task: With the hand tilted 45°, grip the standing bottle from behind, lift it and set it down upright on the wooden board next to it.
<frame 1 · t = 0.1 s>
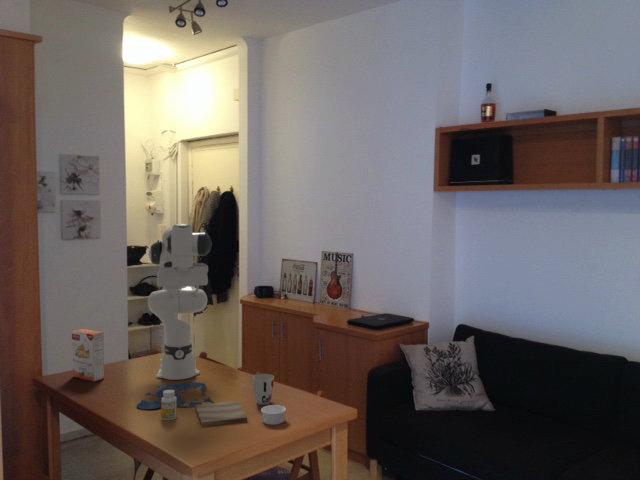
hand: (182, 297, 237), 39 cm above the table, tool pointing down, fingers open, 8 cm apart
blue cloth: (174, 397, 233), on the table
cracker box: (88, 378, 257), on the table
wooden board: (220, 415, 212), on the table
ramekin: (273, 421, 208), on the table
cup: (263, 402, 227), on the table
supplement bottle: (169, 418, 209), on the table
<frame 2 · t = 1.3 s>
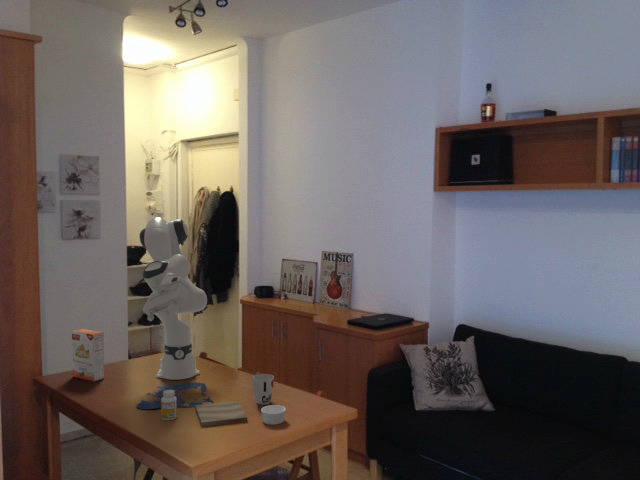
hand: (158, 316, 216), 35 cm above the table, tool tilted 50°, fingers open, 8 cm apart
nothing on the table moved.
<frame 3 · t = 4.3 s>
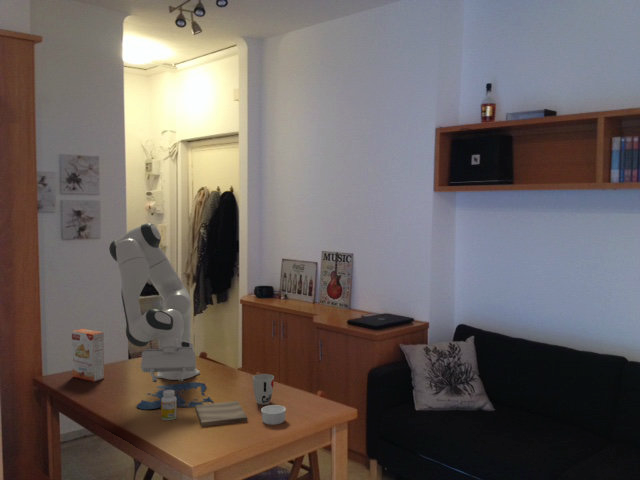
hand: (167, 380, 215), 11 cm above the table, tool tilted 45°, fingers open, 8 cm apart
nothing on the table moved.
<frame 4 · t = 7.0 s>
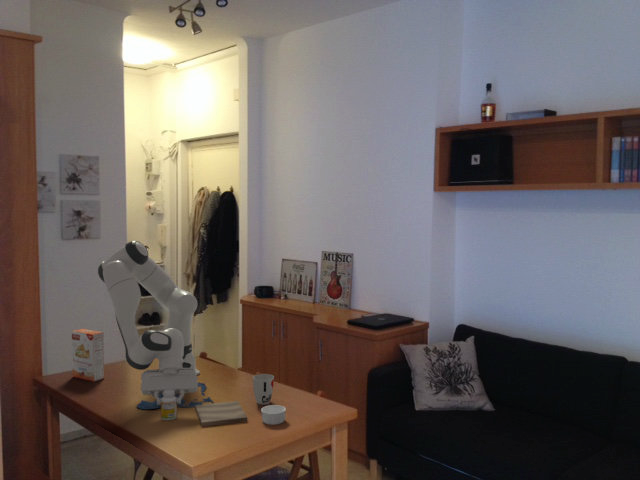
hand: (168, 403, 209), 5 cm above the table, tool tilted 45°, fingers closed on supplement bottle, 5 cm apart
supplement bottle: (169, 418, 209), on the table, touching gripper
everything else where it was.
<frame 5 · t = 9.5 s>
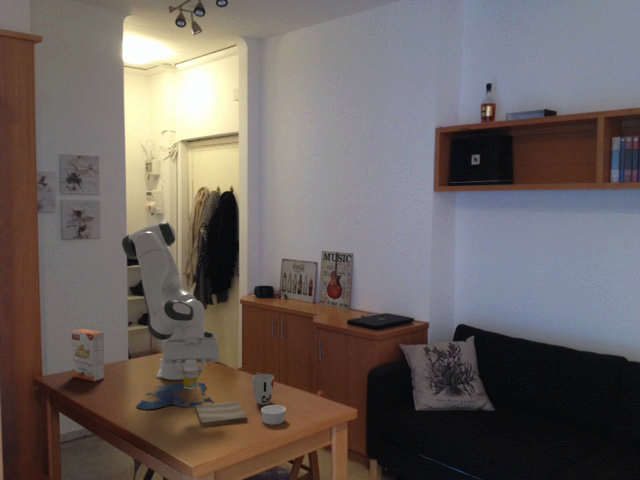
hand: (191, 372, 210), 16 cm above the table, tool tilted 45°, fingers closed on supplement bottle, 5 cm apart
supplement bottle: (191, 387, 211), point 10 cm above the table, touching gripper
everything else where it was.
when the fingers open (8 cm above the table, at t = 12.1 s): supplement bottle stays where it is, resting on wooden board.
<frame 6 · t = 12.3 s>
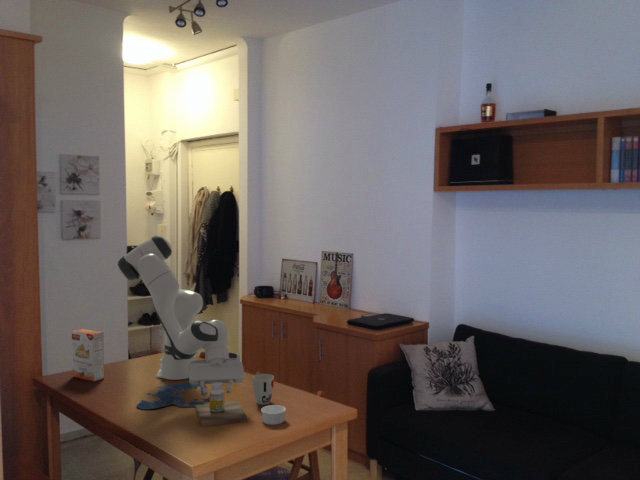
hand: (217, 393, 213), 8 cm above the table, tool tilted 45°, fingers open, 7 cm apart
supplement bottle: (217, 410, 214), point 1 cm above the table, touching wooden board
everything else where it was.
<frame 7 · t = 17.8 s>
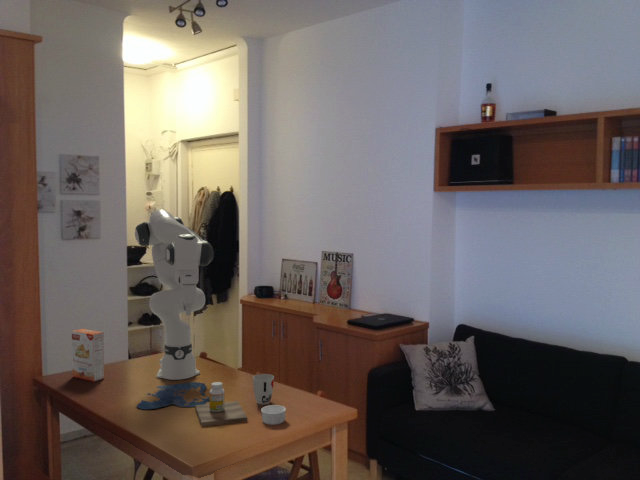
hand: (187, 312, 223), 35 cm above the table, tool pointing down, fingers open, 8 cm apart
nothing on the table moved.
at the end: supplement bottle inside the target area on the wooden board (2.2 cm from its centre), point 1.3 cm above the wooden board's base; supplement bottle tilted 0°; the gripper is holding nothing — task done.
